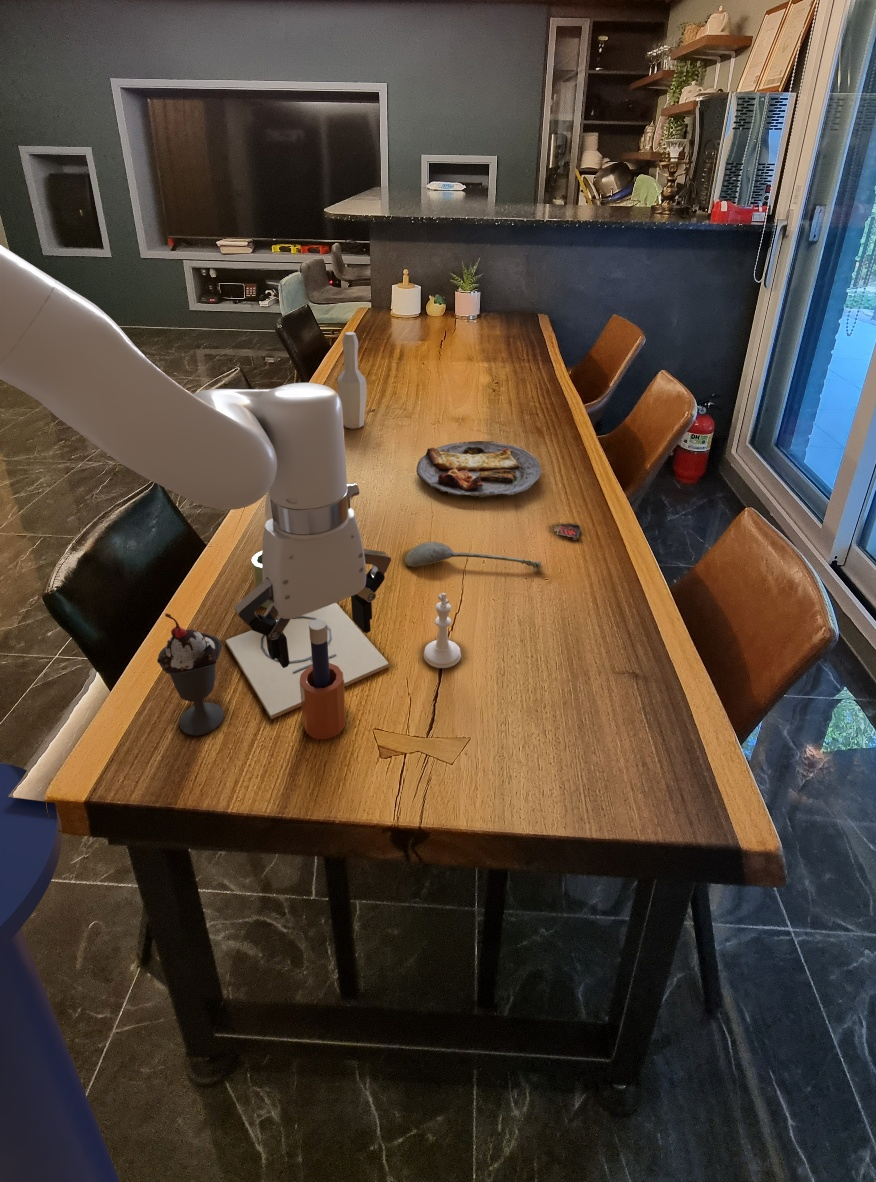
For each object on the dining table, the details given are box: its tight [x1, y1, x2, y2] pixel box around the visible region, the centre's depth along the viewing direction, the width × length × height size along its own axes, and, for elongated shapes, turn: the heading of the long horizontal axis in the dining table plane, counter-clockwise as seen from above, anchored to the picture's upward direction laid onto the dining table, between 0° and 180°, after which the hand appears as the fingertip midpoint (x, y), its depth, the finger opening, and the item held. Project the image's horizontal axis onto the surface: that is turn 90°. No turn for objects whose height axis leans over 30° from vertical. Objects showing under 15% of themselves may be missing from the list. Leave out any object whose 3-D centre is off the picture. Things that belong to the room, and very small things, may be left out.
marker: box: [309, 619, 330, 688], centre depth 78 cm, size 2×2×14 cm
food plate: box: [416, 440, 542, 499], centre depth 140 cm, size 25×23×4 cm
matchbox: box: [553, 523, 581, 541], centre depth 121 cm, size 5×5×1 cm
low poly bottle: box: [336, 331, 368, 430], centre depth 158 cm, size 6×6×22 cm
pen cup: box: [250, 550, 272, 609], centre depth 101 cm, size 5×5×7 cm
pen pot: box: [300, 663, 347, 740], centre depth 80 cm, size 5×5×7 cm
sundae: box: [156, 612, 225, 736], centre depth 78 cm, size 7×7×15 cm
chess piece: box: [423, 592, 462, 669], centre depth 90 cm, size 5×5×10 cm
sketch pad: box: [225, 602, 390, 720], centre depth 91 cm, size 16×16×1 cm
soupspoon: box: [404, 541, 542, 572], centre depth 111 cm, size 22×3×7 cm
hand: (322, 642), depth 76 cm, fingers open, 9 cm apart
